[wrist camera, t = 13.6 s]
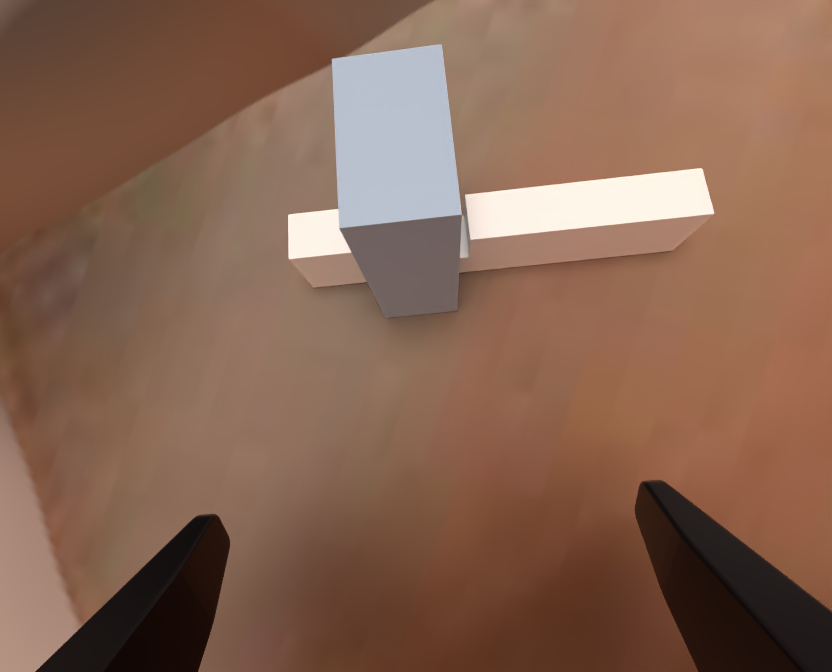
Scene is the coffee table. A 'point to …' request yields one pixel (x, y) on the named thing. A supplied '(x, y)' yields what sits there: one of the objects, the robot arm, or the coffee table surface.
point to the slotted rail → (534, 225)
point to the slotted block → (399, 178)
